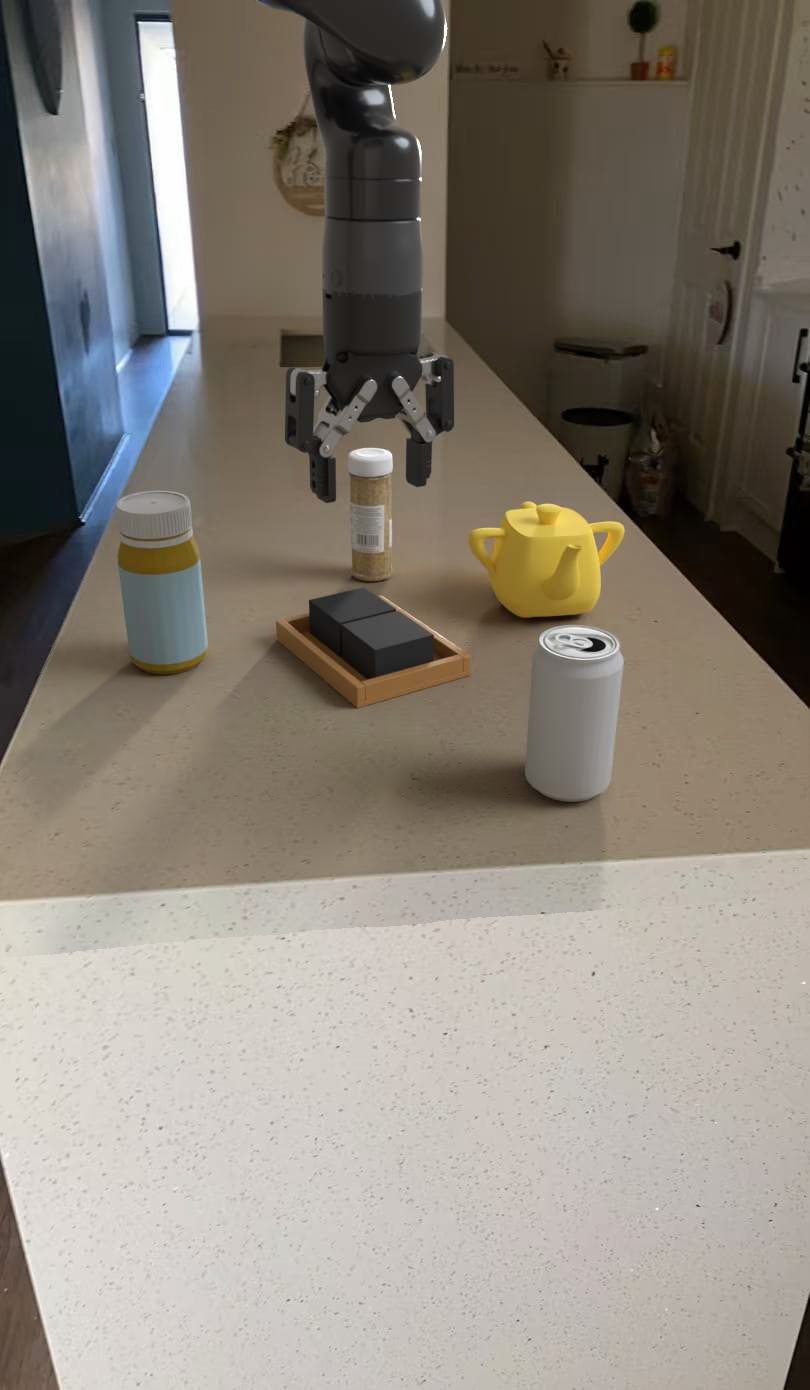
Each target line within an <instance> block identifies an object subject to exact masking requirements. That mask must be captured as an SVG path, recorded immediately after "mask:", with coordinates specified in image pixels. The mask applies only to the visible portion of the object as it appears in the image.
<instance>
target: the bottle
mask: <svg viewBox="0 0 810 1390" xmlns="http://www.w3.org/2000/svg"><path fill="white" fill-rule="evenodd" d="M115 510H116V518H117V526H118V529H119V532H118V533H119V540H120V543H119V547H118V551H117V554H116V556H117V566H118V574H119V582H120V589H121V590H120V591H121V597H122V599H121V600H122V605H123V606H122V607H123V612H124V613H123V614H124V621H125V622H124V623H125V629H126V636H127V646H128V653H129V657H130V661H131V662H132V663H133V664H134V665H135V666H136V667H138V668H139V669H140V670H141V671H144V672H146V673H149V674H154V675H174V674H175V675H176V674H181V673H184V672H187V671H190V670H192V669H195V668H196V667H198V666H199V665H200V664H201V663H202V662H203V661H204V660H205V658H206V657H207V655H208V652H209V648H208V642H209V641H208V631H207V621H206V620H207V619H206V610H205V609H206V608H205V599H204V598H205V597H204V586H203V576H202V563H201V562H202V561H201V556H200V555H201V554H200V550H199V546H198V544H197V543H196V541H195V538H194V536H193V525H192V524H193V521H192V520H193V519H192V508H191V501H190V498H189V496H187V495H186V494H183V493H181V492H177V491H171V490H146V491H140V492H134V493H131V494H128V495H125V496H123V497H121V498H119V500H117V502H116V505H115Z"/></svg>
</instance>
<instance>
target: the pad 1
mask: <svg viewBox="0 0 810 1390" xmlns="http://www.w3.org/2000/svg"><path fill="white" fill-rule="evenodd" d="M378 596H379V595H377V594H375V593H373V592H372V591H371V590H369V589H368V588H366V587H364V586H363V587H357V588H355V589H350V590H345V591H340V592H337V593H332V594H329V595H324V596H320V597H315V598H311V599H308V613H309V618H310V634H311V635H313V636H314V637H315V638H316V639H318V640H319V641H320V642H321V643H323V644H324V645H325V646H326V647H328V648H329V649H330V650H331V651H333V652H334V653H335V654H336V655H338V656H339V657H340V658H341V657H342V624H346V623H350V622H354V621H358V620H363V619H367V618H371V617H375V616H379V615H383V614H387V613H391V612H395V611H396V608H394V607H393V606H391V605H390V604H388V603H387V602H385V601H384V600H382V599H381V598H379V597H378Z"/></svg>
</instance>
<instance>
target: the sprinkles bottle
mask: <svg viewBox="0 0 810 1390" xmlns="http://www.w3.org/2000/svg"><path fill="white" fill-rule="evenodd" d="M393 463H394V462H393V454H392V453H391V451H390V450H387V449H384V448H378V447H363V448H357V449H354V450H352V451H350V452H349V454H348V455H347V470H348V475H349V480H350V481H349V489H350V490H349V491H350V494H349V495H350V498H349V511H350V513H349V516H350V546H351V569H350V573H351V576H352V577H354V578H355V579H357V580H360V581H363V582H381V581H383V580H384V581H385V580H387V579H388V578H390V577H391V576H392V575H393V571H394V570H393V567H392V562H393V561H392V546H393V521H392V481H391V480H392V472H393V471H394V470H393V468H394V467H393Z"/></svg>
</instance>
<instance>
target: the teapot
mask: <svg viewBox="0 0 810 1390" xmlns="http://www.w3.org/2000/svg"><path fill="white" fill-rule="evenodd" d="M625 531H626V530H625V527H624V525H623V524H622V523H620V522H618V521H600V522H594V523H589V522H588V521H587V520H586V518H585V517H583V516H582V515H581V514H580V513H578V512H577V511H575V510H573V509H571V508H568V507H561V506H560V505H558V504H553V503H541V504H539V505H537V504H536V503H534V502H533V501H524V502H523V503H521V505H520V508H516V509H509V510H507V511H506V512H505V513H504V515H503V517H502V519H501V522H500V524H499V527H481V528H476V529H473V530H472V531H470V533H469V534H468V537H467V540H468V547H469V549H470V550H471V553H472V554H473V555H474V557H475V559H476V560H478V561H479V563H480V564H481V565H482V566H483V567H484V569H486V570H487V571H488V579H489V583H490V586H491V588H492V591H493V593H494V594H495V596H496V598H497V600H498V601H499V602H500V603H501V605H502V606H503V607H504V608H506V610H508V611H509V612H511V613H512V614H514V615H515V616H517V617H519V618H523V619H530V618H537V617H540V618H541V617H558V616H576V615H580V614H587V613H589V612H591V611H592V610H593V609H594V607H595V606H596V604H597V602H598V600H599V598H600V597H601V596H600V595H601V588H602V576H601V567H602V565H603V564H604V563H605V562H606V561H607V560H608V559H609V558H610V557H611V556H612V555H613V554H614V553H615V551H616V550H617V549H618V547H619V546H620V545H621V543H622V541H623V539H624V536H625V533H626V532H625ZM594 533H607V537H606V540H605V542H604V544H603V545H602V547H601V548H600V549H599V551H598V547H597V543H596V540H595V536H594ZM488 539H494V540H493V544H492V548H491V552H490V556H489V554H488V551H487V548H486V546H485V541H486V540H488Z"/></svg>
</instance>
